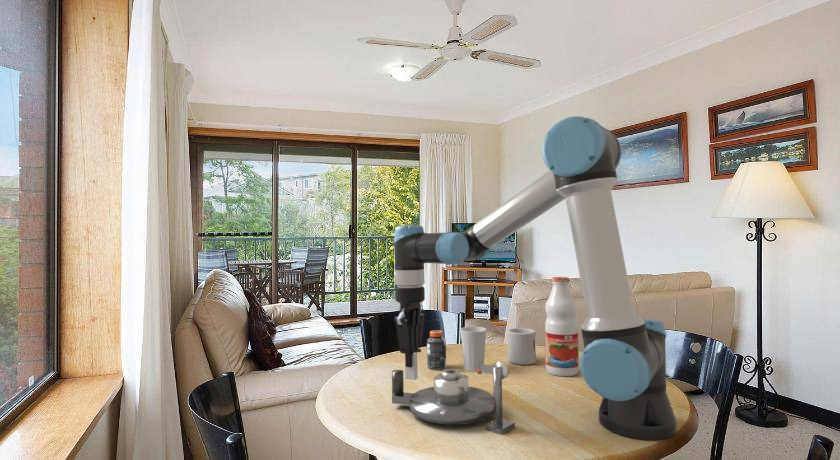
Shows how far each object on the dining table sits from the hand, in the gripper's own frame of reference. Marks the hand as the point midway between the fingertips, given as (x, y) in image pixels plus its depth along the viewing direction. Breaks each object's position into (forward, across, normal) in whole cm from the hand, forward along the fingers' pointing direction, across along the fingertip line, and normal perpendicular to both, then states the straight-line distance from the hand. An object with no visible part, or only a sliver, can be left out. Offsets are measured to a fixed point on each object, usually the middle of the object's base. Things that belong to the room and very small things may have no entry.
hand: (411, 378), depth 120 cm
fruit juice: (+5, -37, +31) cm, 48 cm away
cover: (+2, +5, +13) cm, 14 cm away
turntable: (+4, +5, +11) cm, 12 cm away
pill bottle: (+5, -27, -5) cm, 28 cm away
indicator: (+5, +8, +24) cm, 26 cm away
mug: (+5, -45, +16) cm, 48 cm away
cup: (+5, -31, +6) cm, 32 cm away
